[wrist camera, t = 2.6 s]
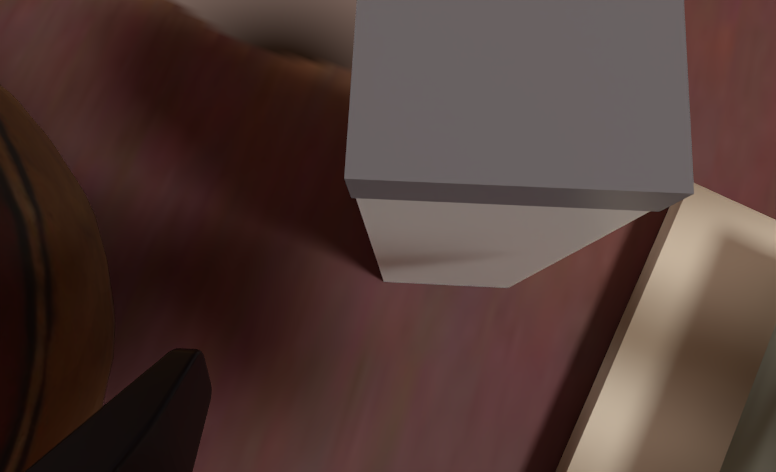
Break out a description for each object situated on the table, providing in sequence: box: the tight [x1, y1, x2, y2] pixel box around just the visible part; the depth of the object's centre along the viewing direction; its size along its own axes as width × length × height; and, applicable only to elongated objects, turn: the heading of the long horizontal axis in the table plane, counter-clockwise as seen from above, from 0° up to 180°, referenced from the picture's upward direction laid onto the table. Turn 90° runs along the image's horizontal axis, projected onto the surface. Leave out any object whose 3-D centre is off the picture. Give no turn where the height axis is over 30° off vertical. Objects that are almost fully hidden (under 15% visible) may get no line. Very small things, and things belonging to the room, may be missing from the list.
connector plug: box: [344, 0, 694, 288], centre depth 14 cm, size 5×5×13 cm
